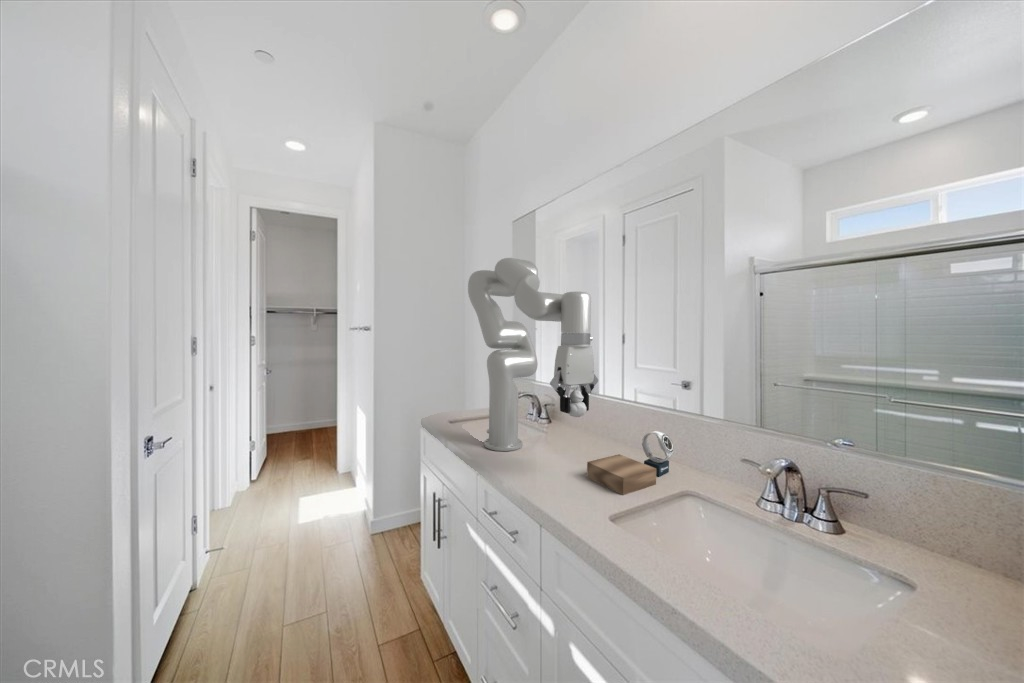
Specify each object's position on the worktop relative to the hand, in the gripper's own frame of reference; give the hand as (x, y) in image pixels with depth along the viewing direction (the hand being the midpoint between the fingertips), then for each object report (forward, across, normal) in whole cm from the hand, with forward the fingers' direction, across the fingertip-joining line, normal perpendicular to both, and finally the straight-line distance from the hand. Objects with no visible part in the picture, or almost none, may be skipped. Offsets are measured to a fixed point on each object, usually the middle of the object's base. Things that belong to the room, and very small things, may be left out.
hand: (574, 410), depth 94 cm
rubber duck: (+2, 0, 0) cm, 2 cm away
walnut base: (+18, -10, +7) cm, 21 cm away
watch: (+18, -23, +8) cm, 30 cm away
